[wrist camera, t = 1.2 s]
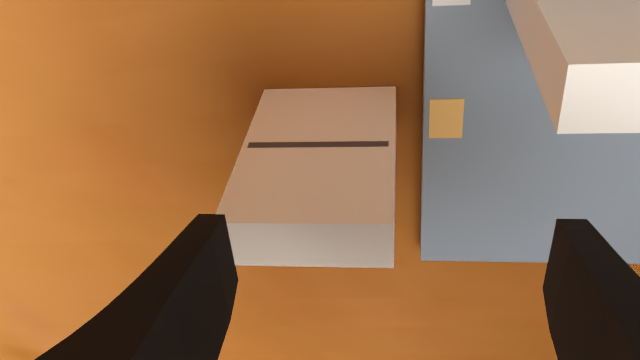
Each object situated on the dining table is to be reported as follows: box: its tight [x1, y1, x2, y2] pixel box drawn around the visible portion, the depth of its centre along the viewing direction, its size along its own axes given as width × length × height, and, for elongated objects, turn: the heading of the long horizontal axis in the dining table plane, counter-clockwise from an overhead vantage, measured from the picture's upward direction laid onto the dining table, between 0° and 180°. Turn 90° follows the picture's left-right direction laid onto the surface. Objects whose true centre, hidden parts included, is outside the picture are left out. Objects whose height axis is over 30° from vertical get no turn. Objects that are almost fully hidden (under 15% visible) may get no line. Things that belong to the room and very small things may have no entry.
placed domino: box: [215, 86, 396, 268], centre depth 20 cm, size 2×5×8 cm, turn 95°
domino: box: [506, 0, 640, 134], centre depth 15 cm, size 2×5×8 cm, turn 95°
